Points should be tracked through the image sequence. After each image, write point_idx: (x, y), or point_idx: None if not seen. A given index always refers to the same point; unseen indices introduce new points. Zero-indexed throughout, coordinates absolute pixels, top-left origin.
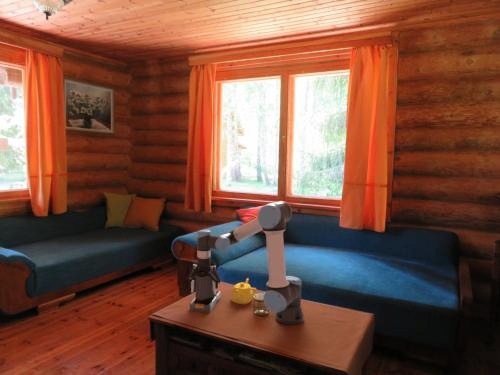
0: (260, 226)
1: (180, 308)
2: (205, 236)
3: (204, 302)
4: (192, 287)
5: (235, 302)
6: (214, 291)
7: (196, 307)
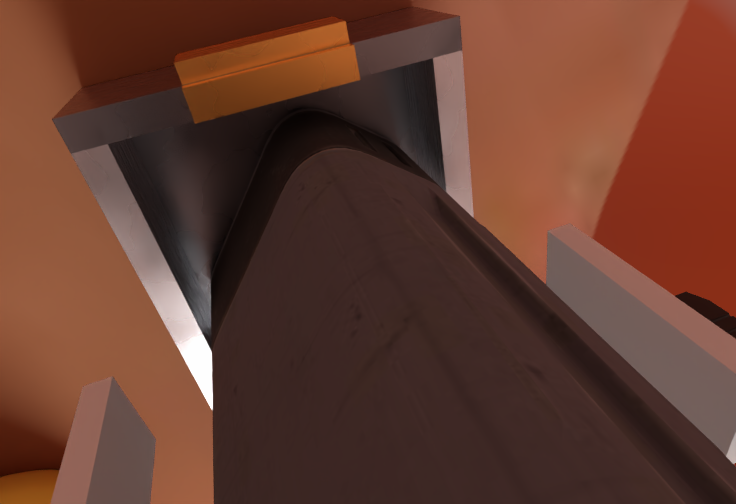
0: None
1: (554, 13)
2: None
3: (260, 196)
4: (624, 287)
5: (5, 480)
6: (79, 443)
7: (312, 21)
